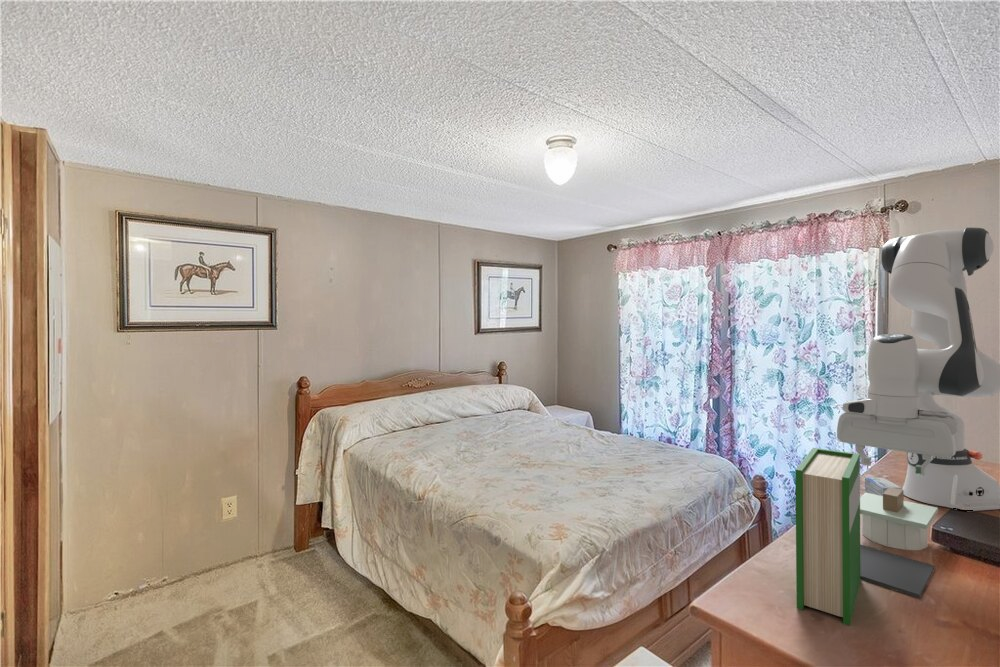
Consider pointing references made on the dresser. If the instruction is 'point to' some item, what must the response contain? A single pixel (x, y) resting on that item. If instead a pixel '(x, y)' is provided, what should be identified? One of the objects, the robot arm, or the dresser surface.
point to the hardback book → (828, 532)
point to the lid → (897, 509)
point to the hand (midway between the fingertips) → (892, 469)
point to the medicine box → (878, 485)
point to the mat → (894, 571)
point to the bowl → (894, 533)
